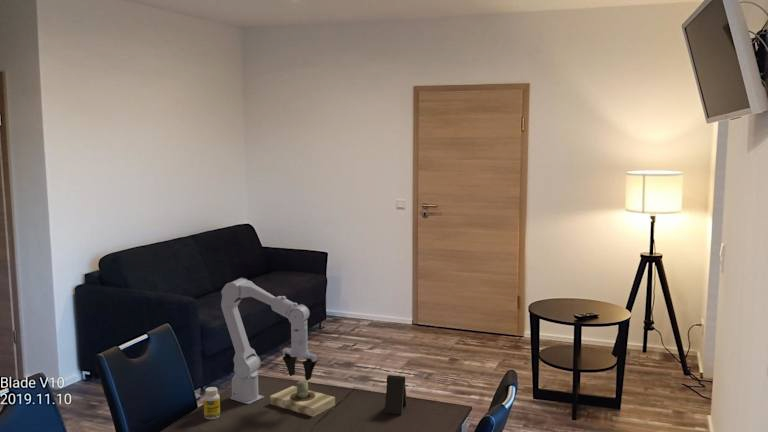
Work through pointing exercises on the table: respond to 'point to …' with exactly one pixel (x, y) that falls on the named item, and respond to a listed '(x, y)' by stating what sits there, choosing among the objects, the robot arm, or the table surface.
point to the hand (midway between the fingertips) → (300, 377)
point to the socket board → (302, 401)
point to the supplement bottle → (211, 403)
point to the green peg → (302, 390)
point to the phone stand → (395, 395)
